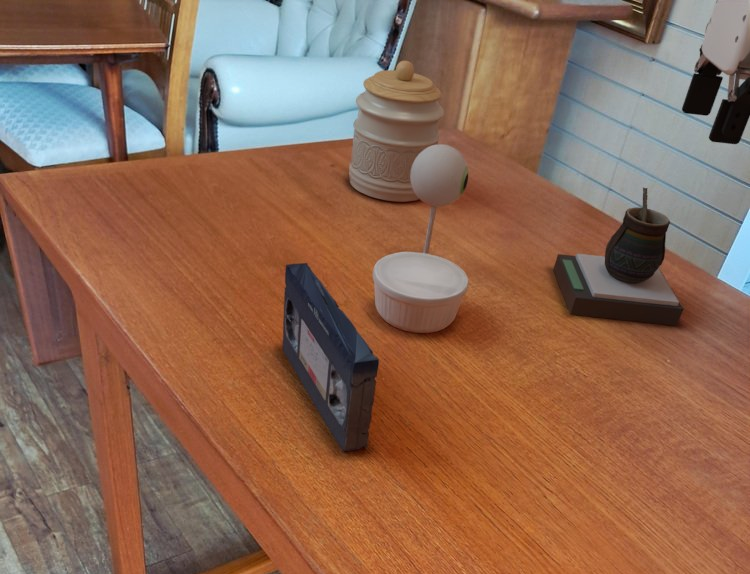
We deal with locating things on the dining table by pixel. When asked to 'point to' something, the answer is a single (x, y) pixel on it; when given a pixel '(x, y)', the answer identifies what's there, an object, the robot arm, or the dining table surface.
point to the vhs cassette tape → (329, 357)
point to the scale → (614, 292)
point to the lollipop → (438, 179)
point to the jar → (393, 131)
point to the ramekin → (418, 291)
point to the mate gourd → (637, 244)
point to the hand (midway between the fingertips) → (708, 127)
